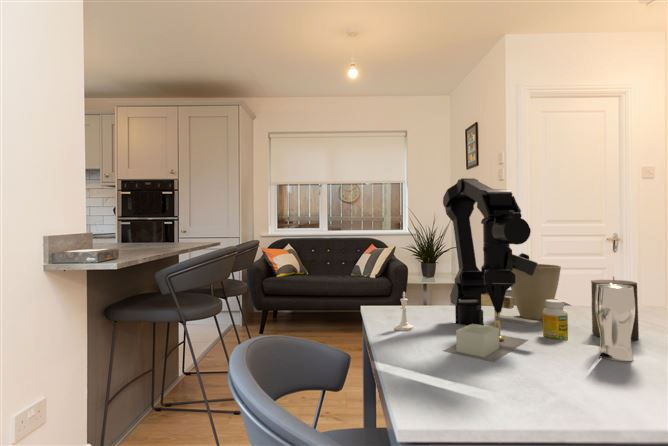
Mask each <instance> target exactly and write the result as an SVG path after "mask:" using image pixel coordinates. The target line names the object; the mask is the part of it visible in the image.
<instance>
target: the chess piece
mask: <svg viewBox="0 0 668 446" xmlns="http://www.w3.org/2000/svg"><path fill="white" fill-rule="evenodd" d="M408 301H409V299H408V298H406V292H405V291H403V292H402V298H400V303H401V306H400V310H401V311H402V312H401V319H400V320H401V321H400V322H399V323H398V324H396V325H395V328H394V329H395V330H397V331H402V332H409V331H413V330H414V326H413V325H412V324H410V323H409V322H408V319H407V317H408V316H407V310H409V308H408V307H407V304H408Z"/></svg>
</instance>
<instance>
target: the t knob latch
mask: <svg viewBox="0 0 668 446" xmlns="http://www.w3.org/2000/svg"><path fill="white" fill-rule="evenodd" d="M514 303H515V300H514V297H513V296H510V295H509V296H508V295H505V297H504V301H503V306H502V309H508V310H511V309H514V308H515V307H514V306H515V304H514ZM481 306H486V307H487V306H488V307H493V308H494V306H493V304H492V301H491V299H490V296H489V294H481ZM493 310H494V327H497V328H499V341H501V340H505V337H504V336H505V335H503V336H502V335H501V322H507V323H511V324H517V325H523V326H529V327H537V326H540V320H535V319H527V318H523V317H521V318H520V317H516V316H515V317H514V316H510V315H508V316H507V315H502V314H501V312H500V313H498V312H496V311H495V309H493Z"/></svg>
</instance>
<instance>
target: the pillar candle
mask: <svg viewBox="0 0 668 446" xmlns="http://www.w3.org/2000/svg"><path fill="white" fill-rule="evenodd" d="M590 281H591V282H590V283H591V323H592V324H591V325H592V326H591V327H592V329H591V330H592V332H591V333H592V335H594V336H596V337H598V338H600V331H599V326H598V322H597V317H596V310H595V294H596V285H597V284H620V285H628V286H633V287H634V288H633V289H634V298H635V318H634V324H633V329H632V334H631V342H632V341H633V342H635V341H637V340H639V338H640V336H639V335H640V332H639V305H638V304H639V303H638V298H639V297H638V283H637V282H636V281H630V280H621V279H615V276H612V279H593V280H590Z"/></svg>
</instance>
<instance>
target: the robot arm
mask: <svg viewBox="0 0 668 446" xmlns="http://www.w3.org/2000/svg"><path fill="white" fill-rule="evenodd" d="M442 198H443V199H442V205H443V207H444V211H445V214H446V216H447V217H448V218H449V220H451V222H452V226H453V233H454V241H455V247H456V255H457V262H458V263H457V264H458V271H457V273H456V276H455V277H454V284H453V287H452V289H451V292H450V295H449V297H450V303H452V304H453V305H454V306H455V315H454V316H455V322H454V324H456V325H462V326H468V325H470V324H478V325H484V326H485V323H484V310H483V309H482V305H481V294H489V296H490V299H491V301H492V304H493V306H494V307H493V306H492V307H493V308H494V309H495V311H496V312H498V313H500V314H501V313H502V309H503V308H502V306H503V301H504V297H505V296H506V293H507V291H508V289H511V286H513V284H515V283H516V281H515V274H514V273H513V272H512V271H513V268H514V269H517V270H520V271H522V272H525V273H527V274H528V275H531V276H533V274H534V271H535V269H536V266H537V264H539V263H538V262H537V261H534V260H530V256H529V254H526V253H524V252H521V253H520V254H519V255H517V254H514V253H513V249H512V248H511V247H510V245H516V246H517V245H522V244H524V243H526V242H527V241H528V240H529V239H530V236H531V232H532V231H531V227H530V225H529V223H528V221H526V220H525V219H523V218H522V210H521V208H520V206H519V205H518V202H517V201H516V198H515V196H514V194H513V192H512V191H511V190H510V189H501V188H492V187H490V186H488V185H486V184H485V183H483V182H480V181H479V180H478V179H477V178H473V177H472V178H470V177H469V178H467V177H465V178H460V179H458V180H457V182H456V183H455V184H454V185H452V186H450V187H449V188H447V189H446V191H445V193H444V195H443V197H442ZM475 204H476V208H477V209H478V211H479V212H480V213H481V215H482V216H483V218H482V219H481V221H480V224H482V225H483V226H482V228H483V229H482V231H483V232H482V234H483V238H482V240H483V247H482V251H483V265H481V266H480V267H481V268H480V269H481V270H480V269H479V268H478V266H477V261H476V253H475V247H474V239H473V233H472V227H471V226H472V225H471V220H470V218H471V216H472V214H473V212H474V210H475V207H474V206H475ZM494 309H493V310H494ZM495 311H494V312H495Z"/></svg>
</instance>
